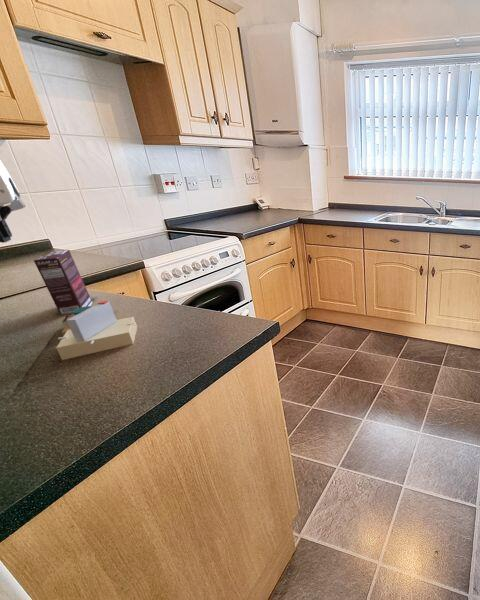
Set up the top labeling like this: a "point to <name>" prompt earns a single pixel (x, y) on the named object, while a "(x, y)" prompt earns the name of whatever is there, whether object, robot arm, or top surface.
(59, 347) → the low beige pedestal
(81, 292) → the supplement box
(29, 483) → the top surface
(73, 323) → the pale blue rectangular brick
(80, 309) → the button
